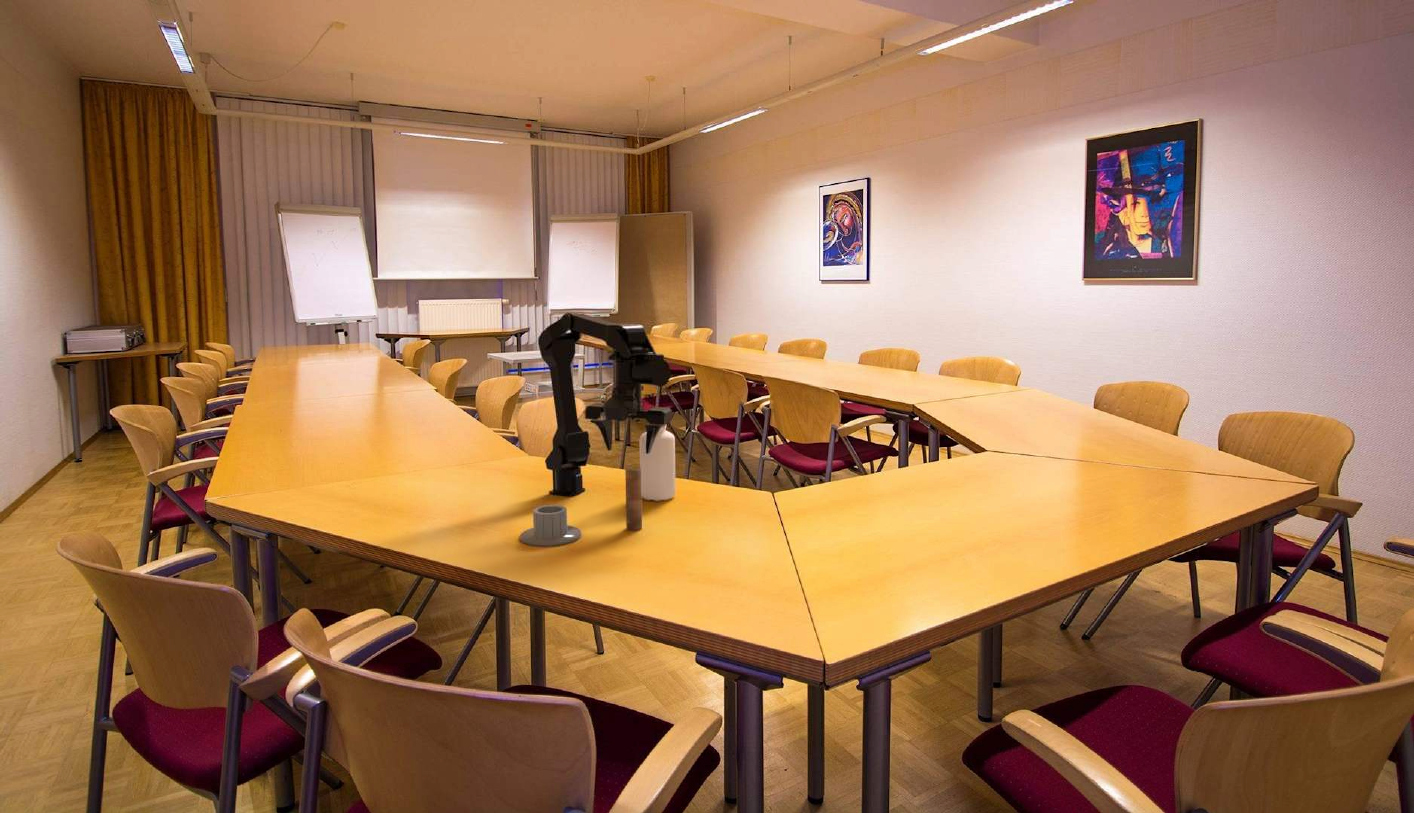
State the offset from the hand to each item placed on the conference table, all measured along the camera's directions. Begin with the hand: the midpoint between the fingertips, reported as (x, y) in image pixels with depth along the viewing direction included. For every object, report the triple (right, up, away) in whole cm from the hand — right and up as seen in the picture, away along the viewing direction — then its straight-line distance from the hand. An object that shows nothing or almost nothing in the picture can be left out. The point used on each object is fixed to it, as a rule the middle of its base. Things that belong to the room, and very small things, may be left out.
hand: (628, 451), depth 172 cm
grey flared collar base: (-14, -16, -17) cm, 27 cm away
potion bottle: (+6, -12, +12) cm, 18 cm away
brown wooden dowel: (+2, -15, -12) cm, 19 cm away
